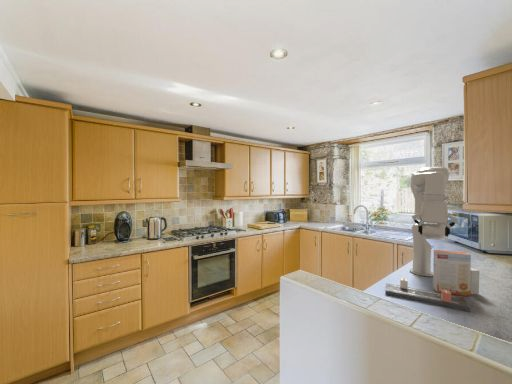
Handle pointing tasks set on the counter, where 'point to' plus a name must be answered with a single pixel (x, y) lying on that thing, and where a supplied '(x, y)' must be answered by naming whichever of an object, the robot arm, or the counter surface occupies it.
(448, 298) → the rust fader
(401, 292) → the console
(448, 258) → the cracker box
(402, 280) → the block
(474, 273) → the skincare box
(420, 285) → the counter surface
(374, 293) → the counter surface
